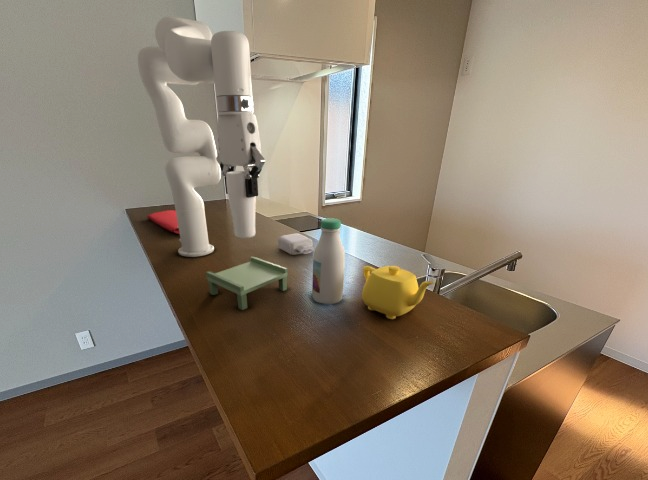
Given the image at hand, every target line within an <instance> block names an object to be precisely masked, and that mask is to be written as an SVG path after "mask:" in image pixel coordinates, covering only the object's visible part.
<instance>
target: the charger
mask: <svg viewBox="0 0 648 480" xmlns="http://www.w3.org/2000/svg"><path fill="white" fill-rule="evenodd" d="M277 246H278V248H279V249H280V250H282V251H284V252H285V253H287V254H289V255H290V256H295V255H296V256H297V255H301V254H303V255H307V254H310V253H314V251H315V247H313V239H311V238H310V237H307V236H305V235H303V234H300V233H298V232H297V233H290V234H284V235H280V236H279V237H278V238H277Z"/></svg>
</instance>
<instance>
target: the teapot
mask: <svg viewBox="0 0 648 480" xmlns="http://www.w3.org/2000/svg"><path fill="white" fill-rule="evenodd" d="M362 275H363V277H364V280H365V283H364V285H363V287H362V288H363V289H362V292H361V299H362V301H363V303H364V304H365V305H366V306H367V309H368V310H369V311H376V312H378V313H380V314H383V315H385V318H387V319H390V320H394V319H396V317H401V316H403V315H405V314H408V313H409V312H410V311H412V310H413V309H415V307H416V306H417V305H419V304H420V303H421V301H422V300H423V298H424V296H425V293H426V289H428V287H429V286H430V285H433V284H436V281H431V280H426V281H423V282H422V283H420V285H419V283H418V281H417V275H416V274H414V273H413V272H411V271H408V270H406V269H404V268H401V267H399V266H397V265H384V266H381V267H379V268H375V267H373V266H370V265H365V266H363V268H362Z"/></svg>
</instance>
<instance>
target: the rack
mask: <svg viewBox="0 0 648 480" xmlns="http://www.w3.org/2000/svg"><path fill="white" fill-rule="evenodd" d="M249 259H250V261H246V262H245V263H241V264H238V265H236V266H233V267H230V268H227V269H225V270H221V271H218V272H213V271H210V270H208V271H206V272H205V275H206V276H205V277H206V280H207V281H208V287H209V294H210V295H212V296H216V295H218V294H219V288H218V286H220V287H221V288H223V289H225V290H228V291H230V292H232V293H234V294H236V296H237V307H238V309H239V310H241V311H244V310H246V309H248V297H247V294H248V293H251V292H254V291H256V290H259V289H260V288H263V287H265V286H268V285H270V284H272V283H275V282H277V281H278V290H279V291H281V292H285V291H287V290H288V278H287V277H288V276H289V273H288V272H289V269H288V267H285V266H282V265H280V264H276V263H274V262H270V261H268V260H264V259H262V258H260V257H259V258H258V257H255V256H250V257H249Z"/></svg>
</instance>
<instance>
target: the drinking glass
mask: <svg viewBox="0 0 648 480" xmlns="http://www.w3.org/2000/svg"><path fill="white" fill-rule="evenodd" d="M245 179H248V178H247V176H246V174H245V171H244V170H235V171H233V172H227V173H226V184H227V192H228V194H227V198H228V202H229V203H228V204H229V209H230V213H231V220H232V226H233V234H234V235H233V236H234V237H236V238H238V239H250V238H251V239H252V238H254V237H255V236H256V232H257V231H256V210H257V209H256V207H257V206H256V205H257V196H256V197H250V198H248V197H246V186H245Z"/></svg>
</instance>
